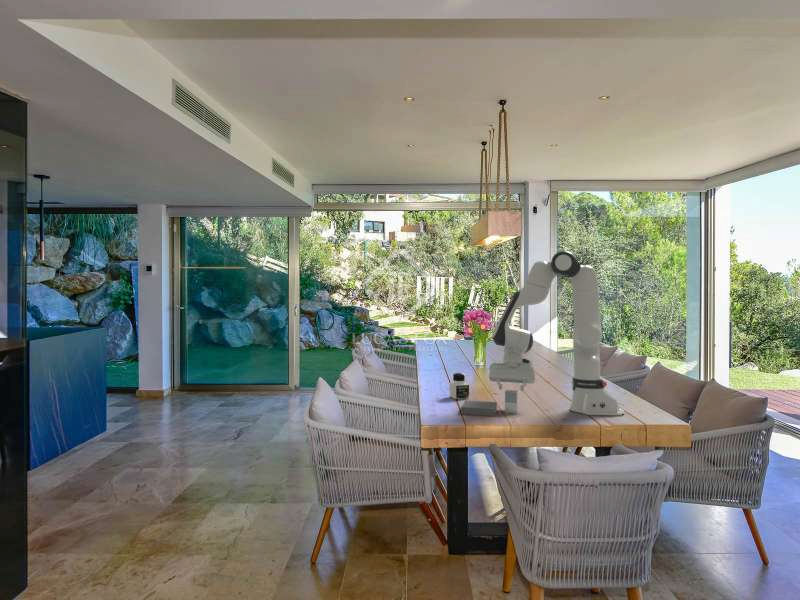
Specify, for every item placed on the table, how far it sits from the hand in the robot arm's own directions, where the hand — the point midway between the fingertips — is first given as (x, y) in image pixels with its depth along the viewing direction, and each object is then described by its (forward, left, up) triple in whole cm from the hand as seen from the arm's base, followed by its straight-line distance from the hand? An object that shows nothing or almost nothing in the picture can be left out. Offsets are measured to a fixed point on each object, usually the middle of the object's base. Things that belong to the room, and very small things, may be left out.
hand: (511, 389), depth 237 cm
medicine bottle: (+26, -19, -9) cm, 33 cm away
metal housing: (0, +4, -9) cm, 10 cm away
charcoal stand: (+13, +7, -9) cm, 18 cm away
